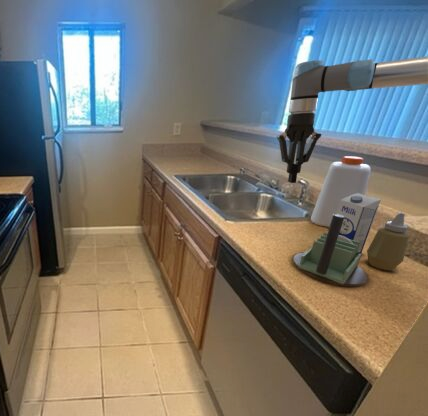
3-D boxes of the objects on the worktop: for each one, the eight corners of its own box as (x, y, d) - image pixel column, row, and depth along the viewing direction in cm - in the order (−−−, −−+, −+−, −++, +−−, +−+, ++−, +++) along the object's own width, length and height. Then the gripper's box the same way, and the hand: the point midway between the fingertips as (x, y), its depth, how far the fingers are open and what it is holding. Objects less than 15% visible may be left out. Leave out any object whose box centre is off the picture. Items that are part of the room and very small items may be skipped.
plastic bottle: (308, 224, 116) (326, 158, 106) (313, 213, 126) (330, 152, 116) (355, 234, 107) (380, 163, 96) (356, 221, 117) (379, 156, 107)
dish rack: (316, 250, 93) (331, 198, 87) (358, 264, 85) (379, 207, 78) (297, 268, 84) (313, 210, 77) (342, 285, 76) (364, 223, 69)
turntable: (364, 265, 86) (365, 263, 86) (369, 295, 73) (370, 292, 73) (295, 248, 97) (296, 246, 97) (289, 272, 84) (290, 269, 84)
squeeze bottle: (403, 276, 81) (427, 220, 75) (367, 268, 85) (387, 215, 78) (393, 262, 88) (415, 210, 81) (360, 256, 91) (378, 206, 85)
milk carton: (361, 254, 93) (382, 198, 85) (346, 257, 91) (365, 200, 84) (340, 244, 99) (357, 192, 92) (325, 247, 98) (341, 194, 90)
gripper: (318, 112, 94) (307, 180, 100) (275, 114, 97) (268, 180, 103) (330, 111, 87) (318, 184, 93) (284, 113, 90) (275, 184, 96)
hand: (291, 182), depth 98 cm, fingers closed
